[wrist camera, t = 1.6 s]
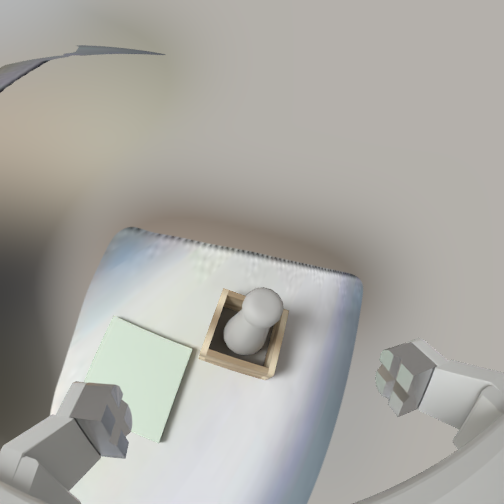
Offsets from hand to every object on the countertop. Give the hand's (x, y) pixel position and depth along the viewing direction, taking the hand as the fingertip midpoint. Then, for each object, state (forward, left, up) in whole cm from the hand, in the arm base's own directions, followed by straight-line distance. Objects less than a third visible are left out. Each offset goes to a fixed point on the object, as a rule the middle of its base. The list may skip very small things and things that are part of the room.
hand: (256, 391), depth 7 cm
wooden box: (+12, -2, -30) cm, 32 cm away
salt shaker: (+12, -2, -30) cm, 32 cm away
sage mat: (+1, +10, -30) cm, 31 cm away
